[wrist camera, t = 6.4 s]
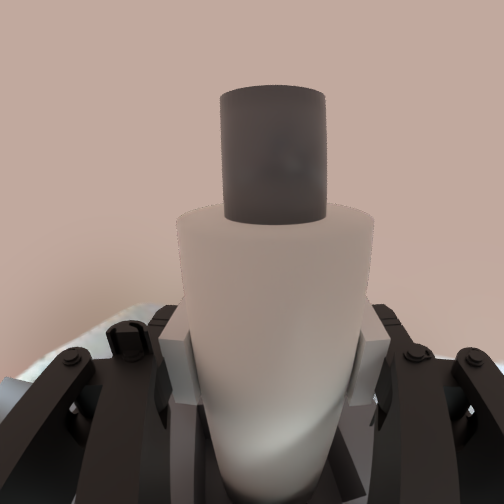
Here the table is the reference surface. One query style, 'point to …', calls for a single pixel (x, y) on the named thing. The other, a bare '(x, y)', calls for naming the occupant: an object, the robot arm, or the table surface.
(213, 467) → the socket block
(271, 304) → the white bottle
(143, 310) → the table surface
